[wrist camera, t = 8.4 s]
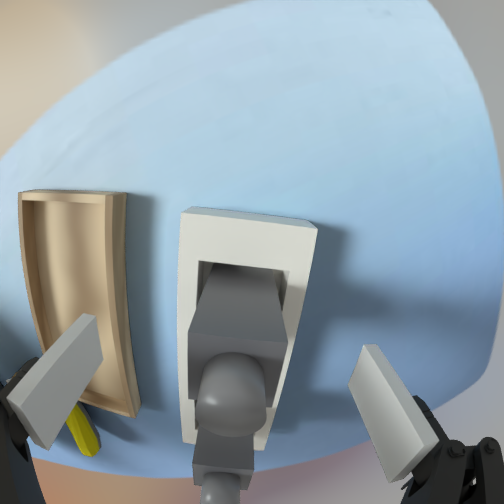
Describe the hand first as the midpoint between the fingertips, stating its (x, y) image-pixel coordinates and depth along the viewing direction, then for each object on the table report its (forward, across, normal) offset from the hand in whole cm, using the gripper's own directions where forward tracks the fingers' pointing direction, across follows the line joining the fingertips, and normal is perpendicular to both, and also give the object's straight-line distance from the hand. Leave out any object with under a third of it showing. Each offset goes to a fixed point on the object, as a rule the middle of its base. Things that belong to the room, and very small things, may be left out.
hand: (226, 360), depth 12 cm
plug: (+8, 0, 0) cm, 8 cm away
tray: (+9, -14, -4) cm, 17 cm away
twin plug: (+8, 0, -11) cm, 13 cm away
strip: (+8, +1, -8) cm, 12 cm away
